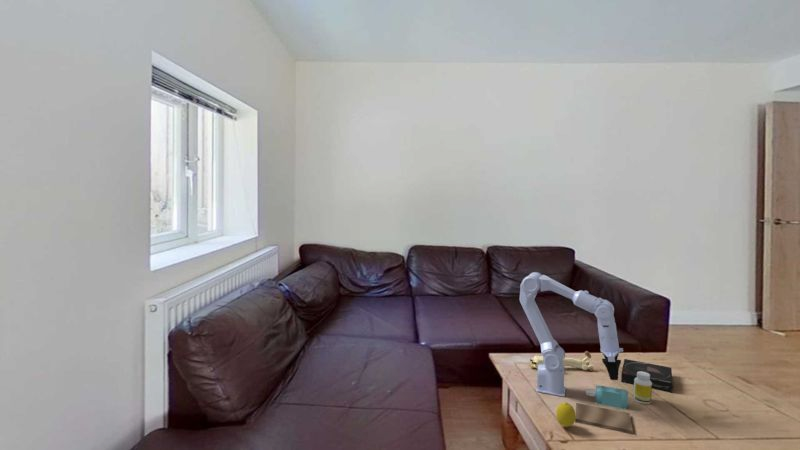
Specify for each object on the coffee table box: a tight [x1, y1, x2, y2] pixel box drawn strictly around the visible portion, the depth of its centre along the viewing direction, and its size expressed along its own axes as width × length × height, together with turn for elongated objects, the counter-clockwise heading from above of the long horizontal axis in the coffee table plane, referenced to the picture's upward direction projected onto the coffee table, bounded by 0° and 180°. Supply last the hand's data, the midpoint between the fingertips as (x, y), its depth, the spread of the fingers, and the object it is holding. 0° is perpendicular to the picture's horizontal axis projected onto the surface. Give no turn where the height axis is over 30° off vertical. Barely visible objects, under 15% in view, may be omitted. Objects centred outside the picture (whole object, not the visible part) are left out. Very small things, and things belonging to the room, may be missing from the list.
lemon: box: [555, 401, 576, 429], centre depth 127 cm, size 6×6×8 cm
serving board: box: [574, 402, 634, 435], centre depth 131 cm, size 16×11×1 cm
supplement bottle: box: [633, 371, 653, 405], centre depth 143 cm, size 5×5×10 cm
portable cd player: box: [620, 358, 673, 394], centre depth 160 cm, size 16×17×4 cm
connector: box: [585, 385, 629, 410], centre depth 141 cm, size 13×4×5 cm, turn 65°
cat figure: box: [528, 350, 594, 372], centre depth 170 cm, size 10×9×25 cm
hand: (613, 375), depth 140 cm, fingers open, 7 cm apart
